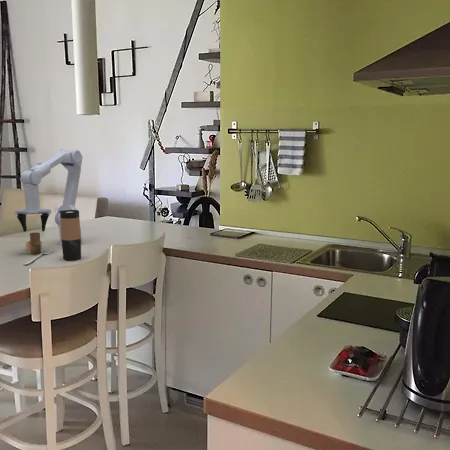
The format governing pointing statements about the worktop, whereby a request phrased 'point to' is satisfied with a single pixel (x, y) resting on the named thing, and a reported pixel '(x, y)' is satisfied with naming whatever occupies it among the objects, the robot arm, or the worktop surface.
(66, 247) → the travel mug
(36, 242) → the peg
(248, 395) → the worktop surface
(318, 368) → the worktop surface
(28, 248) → the cup
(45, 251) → the fork
